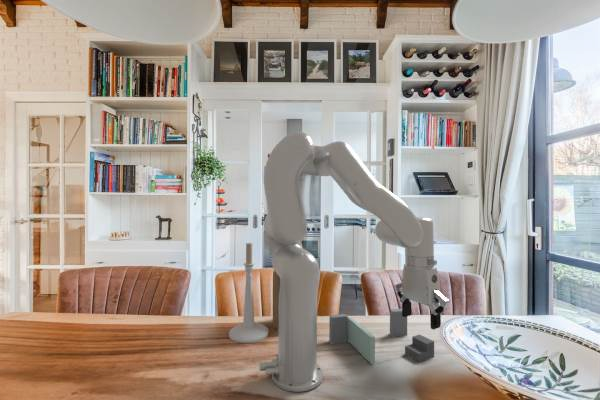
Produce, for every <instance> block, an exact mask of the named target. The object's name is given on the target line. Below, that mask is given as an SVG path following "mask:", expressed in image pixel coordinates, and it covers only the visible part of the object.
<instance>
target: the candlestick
mask: <svg viewBox="0 0 600 400" xmlns="http://www.w3.org/2000/svg"><path fill="white" fill-rule="evenodd" d="M243 265H244V270H245V271H246V274H245V286H244V287H245V289H244V304H243V305H244V306H243V308H244V309H243V321H242V323H239V324H237V325H235V326H233V327H232V328H231V329H230V330H229V331H228V337H229V339H230V340H232V341H233V342H236V343H240V344H243V343H244V344H248V343H255V342H256V343H257V342H259V341H261V340H264V339H265V338H267V337H268V335H269V328H268V327H267V326H266V325H265V324H263V323H259V322H257V321H256V322H255V312H254V311H255V310H254V309H255V308H254V290H253V289H254V287H253V284H254V283H253V274H252V272H253V269H254V265H255V263H254V262H253V243H252V242H246V243H245V263H243Z"/></svg>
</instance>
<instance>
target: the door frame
mask: <svg viewBox="0 0 600 400" xmlns="http://www.w3.org/2000/svg"><path fill="white" fill-rule="evenodd" d="M347 316H348V315H346V314H345V313H339V314H330V315H329V330H328V331H329V333H328V334H329V339H328V340H329V343H330V344H331V345H333V344H342V343H347V342H348V340H347ZM389 335H390V336H392V337H393V338H395V337H403V336H408V316H406V317H403V316H402V308H395V309H394V308H393V309H389Z"/></svg>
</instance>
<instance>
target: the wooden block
mask: <svg viewBox="0 0 600 400" xmlns="http://www.w3.org/2000/svg"><path fill="white" fill-rule="evenodd" d="M279 293H280V277H279V276H278V274H277V273H276V272H275V270H274V269H273V273H272V328H273V329H274V330H279Z"/></svg>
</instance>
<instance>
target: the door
mask: <svg viewBox="0 0 600 400" xmlns="http://www.w3.org/2000/svg"><path fill="white" fill-rule="evenodd" d="M346 316H347V342H348V343H350V345H352V346H353V347H354V348H355V350H357V351H358V352H359V353H360V354H361V355H362V357H364V358H365V360H366V361H368V362H369V363H370V364H372V365H373V364H375V363H376V336H375V335H373V334H372V333H371V332H370V331H368V330H367V329H366V328H365V327H364V326H363V325H361V324H360V323H359V322H358V321H357V320H355V319H354V317H352V316H350V315H346Z"/></svg>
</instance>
